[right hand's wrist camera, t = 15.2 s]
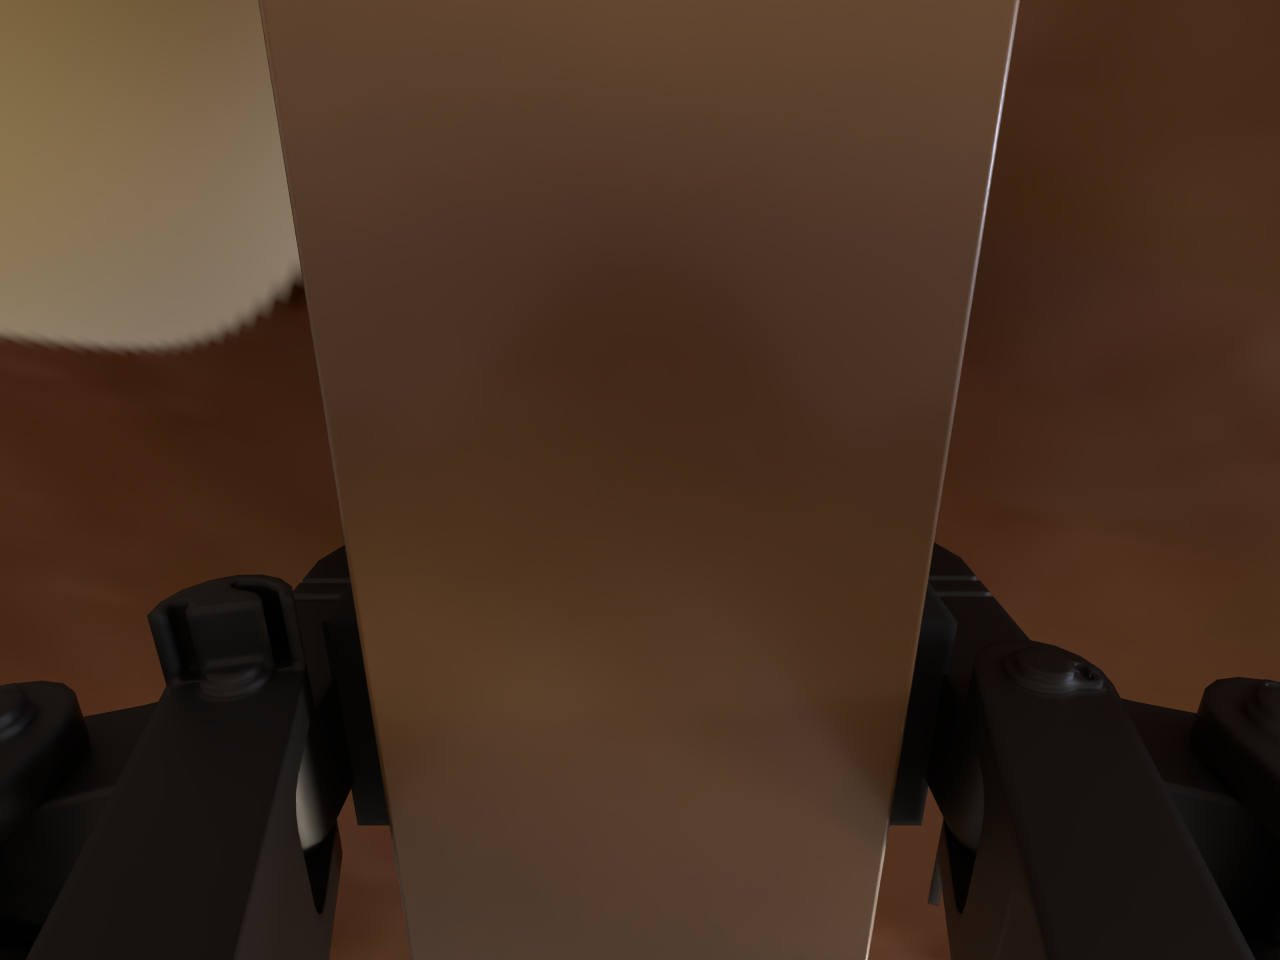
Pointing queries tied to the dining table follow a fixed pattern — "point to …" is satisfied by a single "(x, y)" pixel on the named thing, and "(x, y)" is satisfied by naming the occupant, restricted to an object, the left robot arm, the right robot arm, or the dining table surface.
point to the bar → (639, 439)
